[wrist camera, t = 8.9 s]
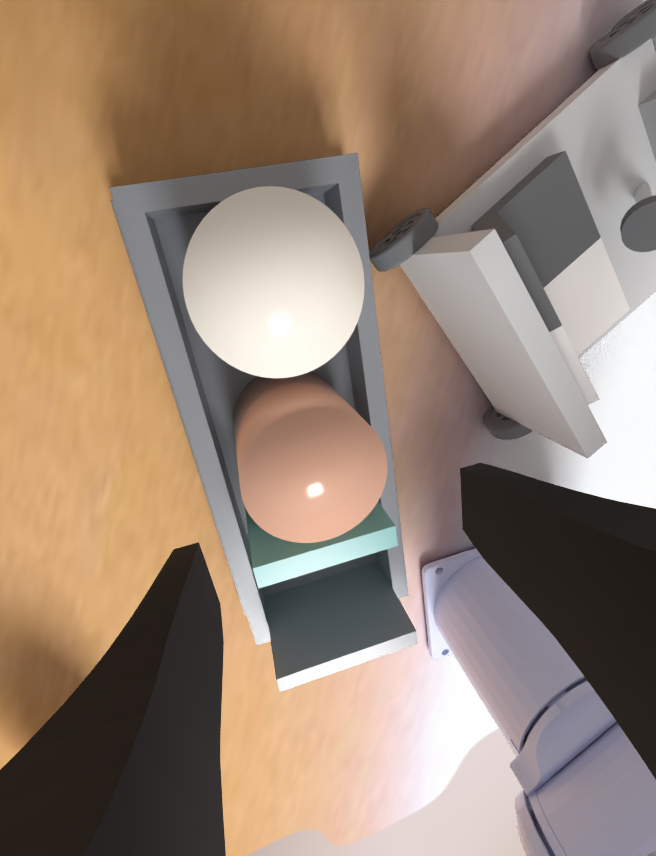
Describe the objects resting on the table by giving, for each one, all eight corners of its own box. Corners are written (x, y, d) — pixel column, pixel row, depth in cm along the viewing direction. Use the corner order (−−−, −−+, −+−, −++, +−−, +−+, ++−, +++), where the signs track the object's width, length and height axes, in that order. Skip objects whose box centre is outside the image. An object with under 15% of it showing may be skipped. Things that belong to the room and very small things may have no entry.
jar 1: (306, 204, 16) (351, 173, 11) (327, 331, 18) (374, 358, 13) (177, 225, 16) (156, 201, 10) (213, 356, 18) (211, 395, 12)
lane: (345, 169, 17) (403, 126, 12) (394, 557, 25) (442, 634, 20) (115, 203, 16) (64, 170, 10) (243, 604, 23) (251, 701, 18)
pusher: (359, 474, 21) (395, 525, 17) (362, 491, 21) (397, 545, 17) (244, 505, 20) (252, 568, 16) (249, 523, 20) (258, 588, 16)
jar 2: (332, 356, 19) (379, 391, 13) (347, 454, 21) (393, 521, 15) (220, 379, 18) (222, 427, 13) (246, 480, 20) (258, 559, 14)
